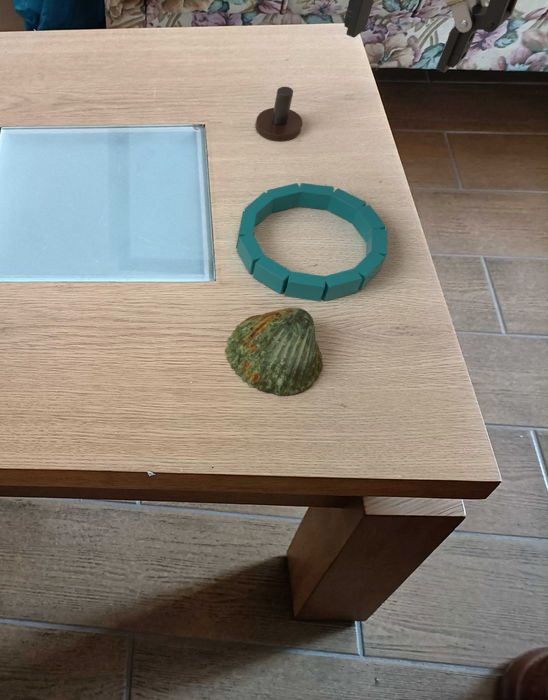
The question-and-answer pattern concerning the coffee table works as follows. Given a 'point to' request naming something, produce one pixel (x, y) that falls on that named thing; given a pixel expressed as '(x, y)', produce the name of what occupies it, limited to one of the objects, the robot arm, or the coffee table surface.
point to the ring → (302, 282)
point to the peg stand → (279, 118)
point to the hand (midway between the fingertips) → (398, 49)
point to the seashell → (276, 351)
